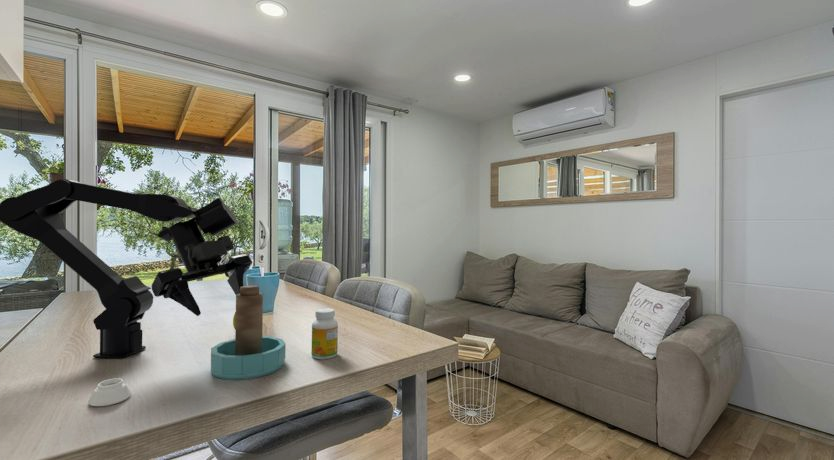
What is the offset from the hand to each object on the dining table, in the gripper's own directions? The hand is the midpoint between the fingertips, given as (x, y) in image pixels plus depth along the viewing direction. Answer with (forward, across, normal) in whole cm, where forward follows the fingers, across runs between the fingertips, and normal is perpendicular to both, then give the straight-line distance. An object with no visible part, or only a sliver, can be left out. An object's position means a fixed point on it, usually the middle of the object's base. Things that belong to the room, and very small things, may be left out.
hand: (222, 307), depth 78 cm
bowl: (+14, -1, -1) cm, 14 cm away
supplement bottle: (+20, +12, -6) cm, 23 cm away
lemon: (+4, +10, +16) cm, 19 cm away
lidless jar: (+9, -22, 0) cm, 23 cm away
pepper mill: (+13, -1, -2) cm, 13 cm away
